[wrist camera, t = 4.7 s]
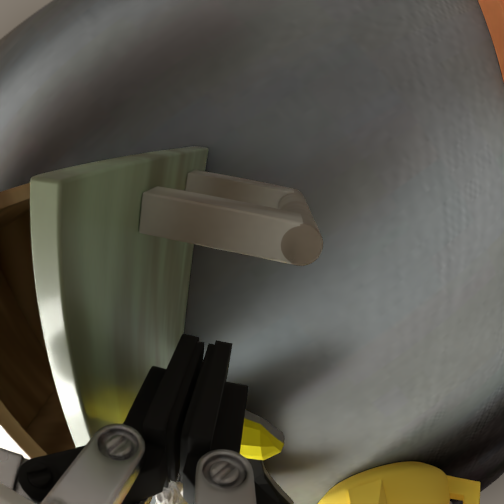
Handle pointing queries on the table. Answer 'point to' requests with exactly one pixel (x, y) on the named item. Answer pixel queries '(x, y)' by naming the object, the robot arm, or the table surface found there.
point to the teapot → (403, 486)
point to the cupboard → (24, 343)
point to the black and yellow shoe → (262, 453)
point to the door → (140, 265)
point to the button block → (495, 26)
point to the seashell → (171, 494)
